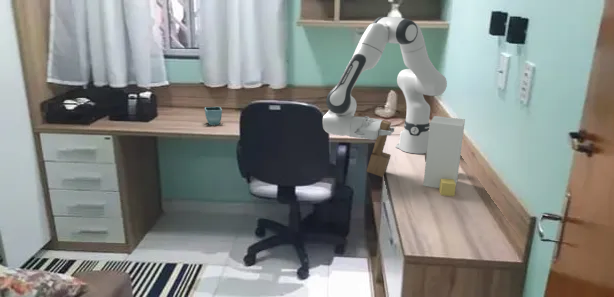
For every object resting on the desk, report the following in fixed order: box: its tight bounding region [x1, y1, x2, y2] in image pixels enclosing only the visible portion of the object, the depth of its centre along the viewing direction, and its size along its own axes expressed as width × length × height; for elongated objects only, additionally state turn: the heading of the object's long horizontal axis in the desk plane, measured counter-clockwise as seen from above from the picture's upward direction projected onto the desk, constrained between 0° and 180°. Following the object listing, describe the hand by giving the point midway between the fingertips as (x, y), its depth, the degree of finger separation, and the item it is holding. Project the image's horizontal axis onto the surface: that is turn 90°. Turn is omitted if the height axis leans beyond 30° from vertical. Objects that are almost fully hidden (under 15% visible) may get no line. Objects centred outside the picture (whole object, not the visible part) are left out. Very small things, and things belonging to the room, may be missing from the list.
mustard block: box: [438, 179, 457, 197], centre depth 191 cm, size 5×5×5 cm
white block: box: [423, 115, 466, 189], centre depth 198 cm, size 12×12×26 cm
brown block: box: [365, 119, 392, 178], centre depth 207 cm, size 7×22×7 cm
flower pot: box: [204, 106, 223, 126], centre depth 279 cm, size 9×9×9 cm
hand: (392, 131), depth 203 cm, fingers closed on brown block, 3 cm apart
